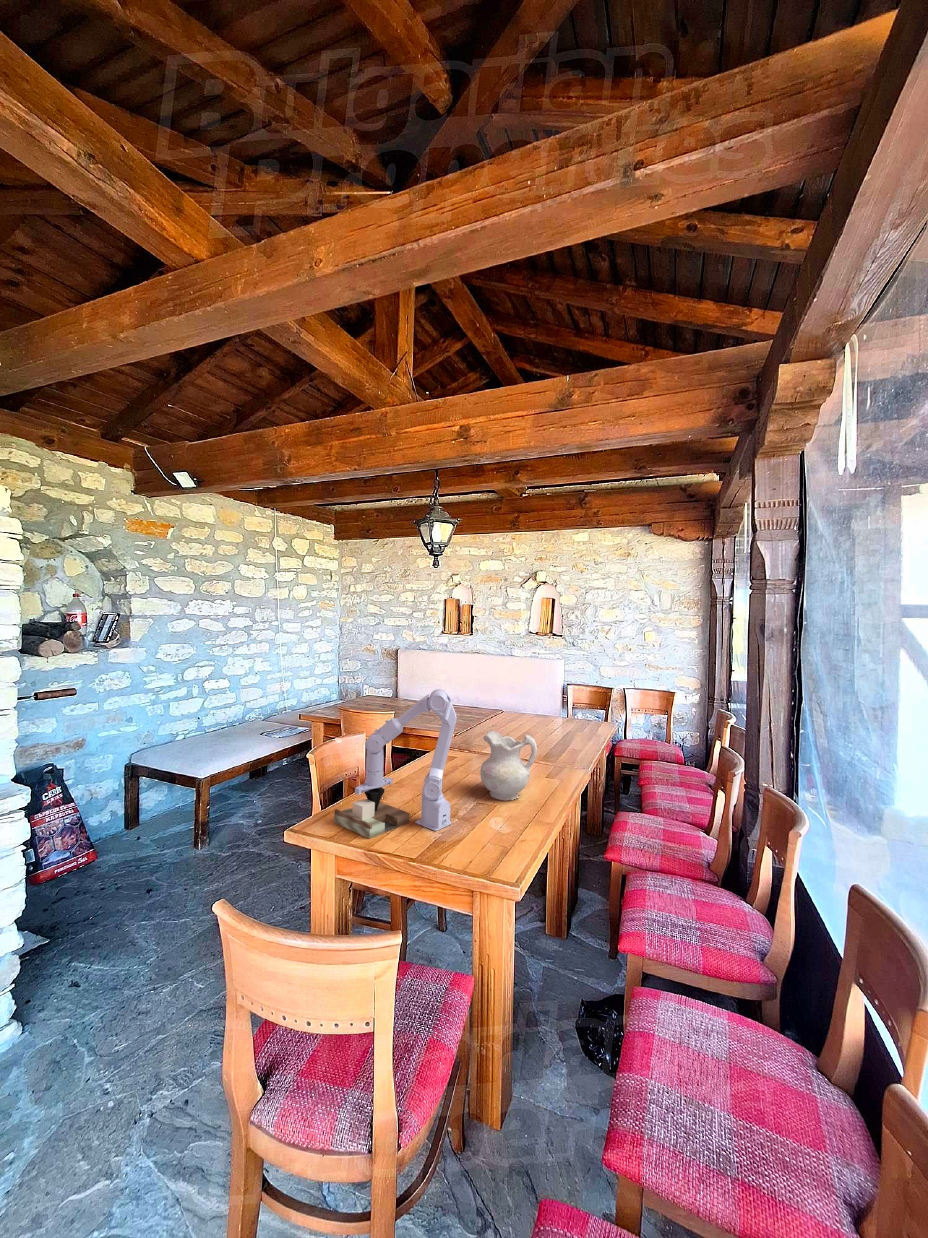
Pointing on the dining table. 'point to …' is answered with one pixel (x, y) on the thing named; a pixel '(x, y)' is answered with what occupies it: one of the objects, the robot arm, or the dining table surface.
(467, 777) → the dining table surface
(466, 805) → the dining table surface
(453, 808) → the dining table surface
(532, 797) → the dining table surface
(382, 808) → the box
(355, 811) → the cream block
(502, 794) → the ceramic pitcher
